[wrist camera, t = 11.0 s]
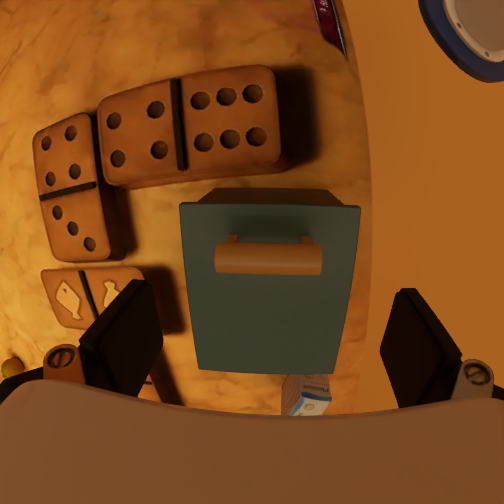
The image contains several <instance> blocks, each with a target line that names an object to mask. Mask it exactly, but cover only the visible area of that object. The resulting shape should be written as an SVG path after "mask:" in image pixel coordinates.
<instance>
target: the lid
mask: <svg viewBox="0 0 504 504" xmlns="http://www.w3.org/2000/svg"><path fill="white" fill-rule="evenodd" d="M179 211H180V224H181V236H182V247H183V258H184V268H185V277H186V285H187V294H188V302H189V309H190V317H191V324H192V331H193V337H194V344H195V350H196V356H197V362H198V368H199V369H202V370H212V371H224V372H238V373H256V374H333V371H334V367H335V363H336V359H337V355H338V351H339V346H340V342H341V337H342V332H343V328H344V323H345V318H346V312H347V307H348V302H349V296H350V290H351V284H352V278H353V271H354V265H355V257H356V250H357V242H358V234H359V224H360V214H361V208H360V207H359V206H357V205H340V204H318V203H289V202H182V203H181V204H179Z"/></svg>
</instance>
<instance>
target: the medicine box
mask: <svg viewBox="0 0 504 504" xmlns="http://www.w3.org/2000/svg"><path fill="white" fill-rule="evenodd" d="M331 401H332V398H331V392H330V386H329V380H328V374H288V376H287V378H286V380H285V382H284V384H283V386H282V399H281V415H284V416H311V415H322V413H323V412H324V410H325V409H326V408H327V406H328V405H329V404H330V402H331Z"/></svg>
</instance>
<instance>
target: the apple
mask: <svg viewBox="0 0 504 504" xmlns="http://www.w3.org/2000/svg"><path fill="white" fill-rule="evenodd" d="M1 371H2V374H3V377H5V378H9V377H11V376H14V375H17V374H21V373H23V372H24V367H23V364H22V363H21V362H20V361H19V360H18V359H16V358H11V359H7V360H6V361H4V363H3V364H2V367H1Z"/></svg>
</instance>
